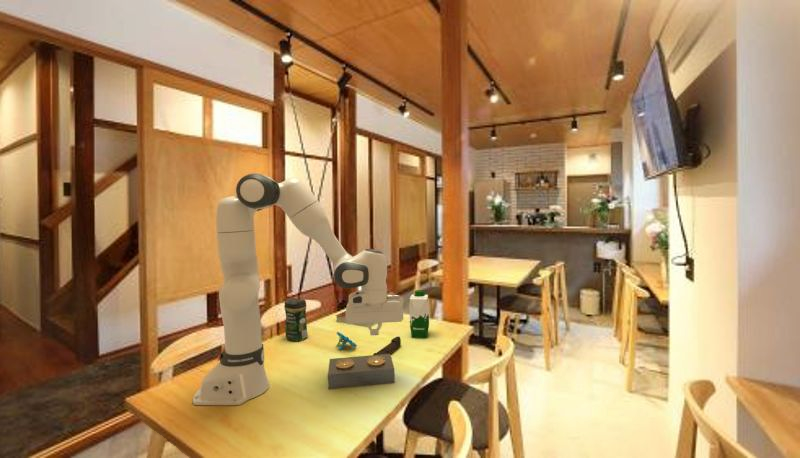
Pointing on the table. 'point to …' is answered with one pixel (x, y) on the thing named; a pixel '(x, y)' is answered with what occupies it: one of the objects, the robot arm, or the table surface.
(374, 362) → the tan dome cap
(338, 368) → the block
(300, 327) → the coffee jar
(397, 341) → the hand tool
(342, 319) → the hardcover book
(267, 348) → the table surface
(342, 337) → the teal cog wheel
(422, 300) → the milk carton
